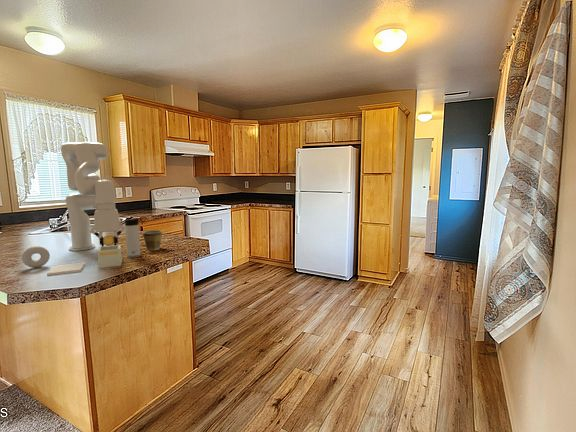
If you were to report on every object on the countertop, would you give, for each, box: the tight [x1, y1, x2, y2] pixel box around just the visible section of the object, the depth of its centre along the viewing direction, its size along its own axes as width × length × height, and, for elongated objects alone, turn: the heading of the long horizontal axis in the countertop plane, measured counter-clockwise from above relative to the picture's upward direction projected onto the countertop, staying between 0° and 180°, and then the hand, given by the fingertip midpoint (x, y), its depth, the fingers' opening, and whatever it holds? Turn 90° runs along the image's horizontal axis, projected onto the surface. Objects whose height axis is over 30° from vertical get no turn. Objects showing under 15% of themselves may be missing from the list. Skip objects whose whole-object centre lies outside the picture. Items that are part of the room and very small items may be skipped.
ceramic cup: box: [142, 229, 163, 251], centre depth 177 cm, size 13×10×10 cm
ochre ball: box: [103, 234, 114, 246], centre depth 145 cm, size 5×5×5 cm
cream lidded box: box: [96, 244, 123, 269], centre depth 146 cm, size 9×9×8 cm
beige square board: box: [46, 262, 86, 276], centre depth 138 cm, size 12×12×1 cm
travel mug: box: [124, 217, 142, 259], centre depth 159 cm, size 6×7×20 cm
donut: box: [21, 245, 51, 269], centre depth 141 cm, size 10×4×10 cm, turn 132°
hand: (109, 245), depth 145 cm, fingers closed on ochre ball, 4 cm apart
